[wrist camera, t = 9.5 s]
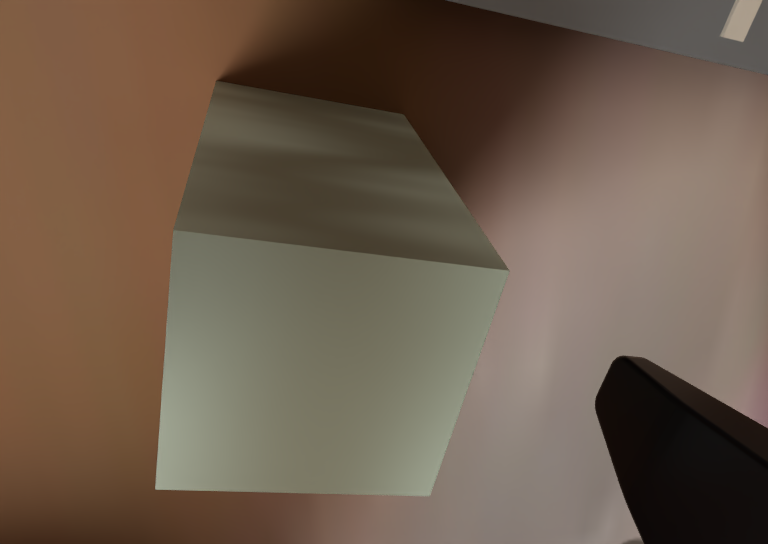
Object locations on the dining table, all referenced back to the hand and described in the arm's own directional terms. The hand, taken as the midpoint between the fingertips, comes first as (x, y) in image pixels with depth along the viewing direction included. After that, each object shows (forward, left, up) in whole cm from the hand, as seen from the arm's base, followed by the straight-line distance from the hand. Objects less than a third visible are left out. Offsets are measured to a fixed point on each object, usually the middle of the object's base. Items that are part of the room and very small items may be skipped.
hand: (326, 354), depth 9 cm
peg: (0, 0, -6) cm, 6 cm away
